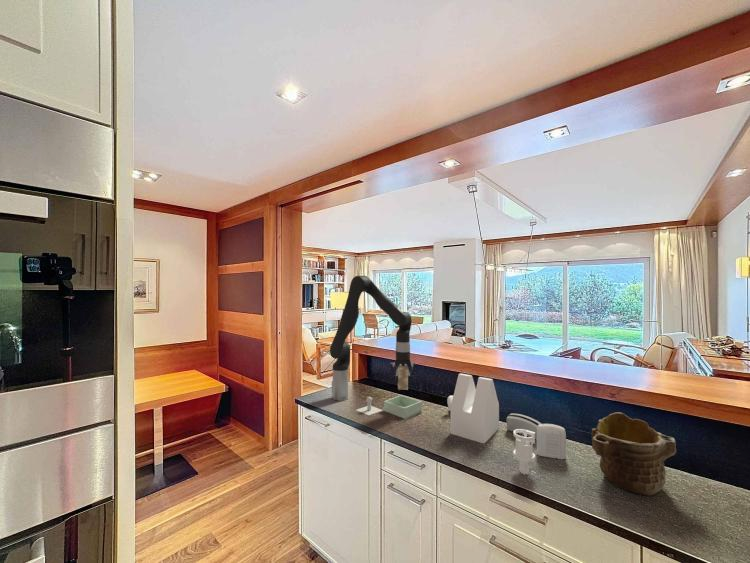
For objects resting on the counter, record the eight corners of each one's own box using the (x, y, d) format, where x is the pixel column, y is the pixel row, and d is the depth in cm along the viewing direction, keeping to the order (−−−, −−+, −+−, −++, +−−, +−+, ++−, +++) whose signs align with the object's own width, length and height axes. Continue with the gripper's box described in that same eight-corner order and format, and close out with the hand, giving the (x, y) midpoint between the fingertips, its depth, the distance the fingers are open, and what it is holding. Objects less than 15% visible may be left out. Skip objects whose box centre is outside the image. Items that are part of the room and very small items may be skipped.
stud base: (355, 411, 173) (355, 396, 173) (369, 406, 180) (369, 392, 180) (368, 417, 166) (368, 401, 166) (382, 412, 173) (382, 396, 173)
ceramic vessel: (673, 498, 90) (611, 408, 105) (603, 511, 107) (557, 432, 122) (713, 477, 100) (651, 397, 114) (642, 492, 117) (596, 420, 131)
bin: (383, 412, 172) (384, 401, 172) (401, 405, 182) (401, 394, 182) (404, 420, 162) (404, 408, 162) (421, 412, 172) (421, 401, 172)
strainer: (533, 480, 113) (533, 436, 113) (511, 473, 116) (511, 431, 117) (536, 470, 119) (535, 428, 119) (515, 464, 122) (515, 424, 123)
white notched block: (467, 420, 163) (467, 369, 164) (498, 428, 154) (498, 375, 154) (450, 433, 148) (450, 378, 148) (484, 444, 139) (484, 384, 139)
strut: (398, 389, 169) (398, 366, 170) (397, 386, 174) (397, 364, 175) (408, 389, 169) (408, 366, 169) (407, 386, 174) (407, 364, 174)
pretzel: (458, 419, 163) (458, 401, 163) (440, 411, 173) (440, 394, 173) (473, 414, 170) (473, 397, 170) (455, 407, 180) (455, 391, 180)
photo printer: (564, 455, 129) (564, 424, 129) (567, 461, 125) (567, 428, 125) (535, 451, 132) (535, 420, 132) (537, 456, 128) (537, 425, 128)
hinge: (548, 439, 143) (545, 419, 141) (544, 446, 140) (540, 426, 138) (511, 426, 156) (508, 408, 154) (507, 432, 153) (503, 414, 151)
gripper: (389, 351, 169) (389, 384, 168) (417, 351, 168) (417, 384, 168) (389, 348, 176) (389, 380, 176) (415, 348, 176) (415, 380, 176)
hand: (402, 382), depth 172 cm, fingers closed on strut, 5 cm apart
